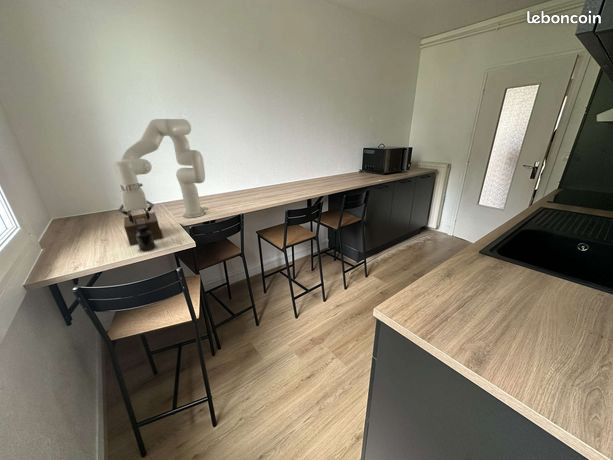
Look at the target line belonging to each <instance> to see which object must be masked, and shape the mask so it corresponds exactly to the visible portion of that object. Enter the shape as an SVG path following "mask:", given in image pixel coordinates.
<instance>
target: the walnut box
mask: <svg viewBox="0 0 613 460" xmlns="http://www.w3.org/2000/svg"><path fill="white" fill-rule="evenodd" d="M146 225H147V227H148V230H150V231H151V232H152V236H153V239H154V241H158V240H162V239H163V236H162V232H161V229H160V225H159V221H158V222H156V223H151V224H146ZM136 227H138V226H135V227H130V228H124V230H125V233H126V236H127V240H128V242H129V246H134V245H138V242H137V239H136V233H137V231H136Z"/></svg>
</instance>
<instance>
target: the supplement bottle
mask: <svg viewBox="0 0 613 460" xmlns="http://www.w3.org/2000/svg"><path fill="white" fill-rule="evenodd" d="M136 231H137V233H136V239H137V242H138V244H137V245H138V248H139V250H140V251H141V252H149V251H153V250H154V249H155V248H156V243H155V240H154V239H153V236H152V232H151V231H150V230H148V227H147V225H141V226H138V227H136Z"/></svg>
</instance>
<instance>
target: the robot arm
mask: <svg viewBox="0 0 613 460" xmlns="http://www.w3.org/2000/svg"><path fill="white" fill-rule="evenodd" d="M191 132H192V125H191V123H190V122H189V121H188V120H187V119H185V118H179V119H178V118H155V119H152V120H150V122H149V123H148V125H147V126H146V128H145V131H143V134H142V136H141V137H140V139H139V140H138V141H136V142H135V143H134V144H132V145H130V146H129V147H128V149H126V151H125V152H124V153H123V154H122V157H121V158H120V161H116V162H114V164H113V166H114V170H115V174H116V177H117V179H118V183H119V186H120V189H121V190H120V198H121V202H122V204H121V205H120V207H119V208H118V209H117V211H118V212H119V213H122V214H123V215H125V216H126V217H129V220H130V222H132V224H133V223H134V220H133V217H132V216H133V215H132V214H131V213H132V211H137V210H143V211H144V212H145V213H144V214H146V217H147V220H148V221H149V218H150V216H149V213H150V211H151V210H152V208H154V206H155V204H154V203H153V202H152V201H149V200H148V199H147V197H146V194H145V192H144V189H143V188H142V187H143V186H144V185H143V183H140V182H139V180H138V177H137V176H139V175H147V174H149V173H150V172H151V171H152V167H153V166H152V164H151V162H150V161H149V160H147V159H145V158H143V156H146V155H148V154H151V153H154V152H155V151H157V150H159V149H160V146H161V144H162V141H163V140H164V138H165V137H169V138H170V140H172V141H171V142H172V143H173V147H174V148H173V149H174V152H175V153H174V154H175V159H176V163H177V164H178V165H180V166H185V167H180V168H179V169H177V171H176V172H175V173H176V174H175V175H176V179H177V182H178V184H179V186H180V190H181V194H182V199H183V204H184V208H185V212H184V214H183V216H184V217H185V218H189V219H191V218H198V217H201V216H204V215H205V211H209V207H208V206H207V207H206V206H203V207H202V205H201V202H200V201H201V200H200V195H199V191H198V187H197V185H196V184H203V183H204V182H205V179H206V170H205V165H204V162H205V161H204V157H203V155H202V153H201V152H200V151H199V150H196V149H191V148H190V147H191V146H190V143H189V140H188V138H187V135H190V133H191ZM187 166H188V167H187Z"/></svg>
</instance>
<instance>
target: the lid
mask: <svg viewBox="0 0 613 460" xmlns="http://www.w3.org/2000/svg"><path fill="white" fill-rule="evenodd" d="M149 216H150V218H149V221H148V220H147V217H146V213H139V214H134V215H132V217H133V220H134V223H133V224H132V222H130V220H129V217H128V216H125V217H124V219H123V220H124V221H123V222H124V223H123V226H124V227H123V228H124V229H125V228H130V227H135V226H141V225H146V224H151V223H156V222H158V223H159V221H158V217H157V215H156V211H154V212H153V211H152V212H149Z"/></svg>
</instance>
